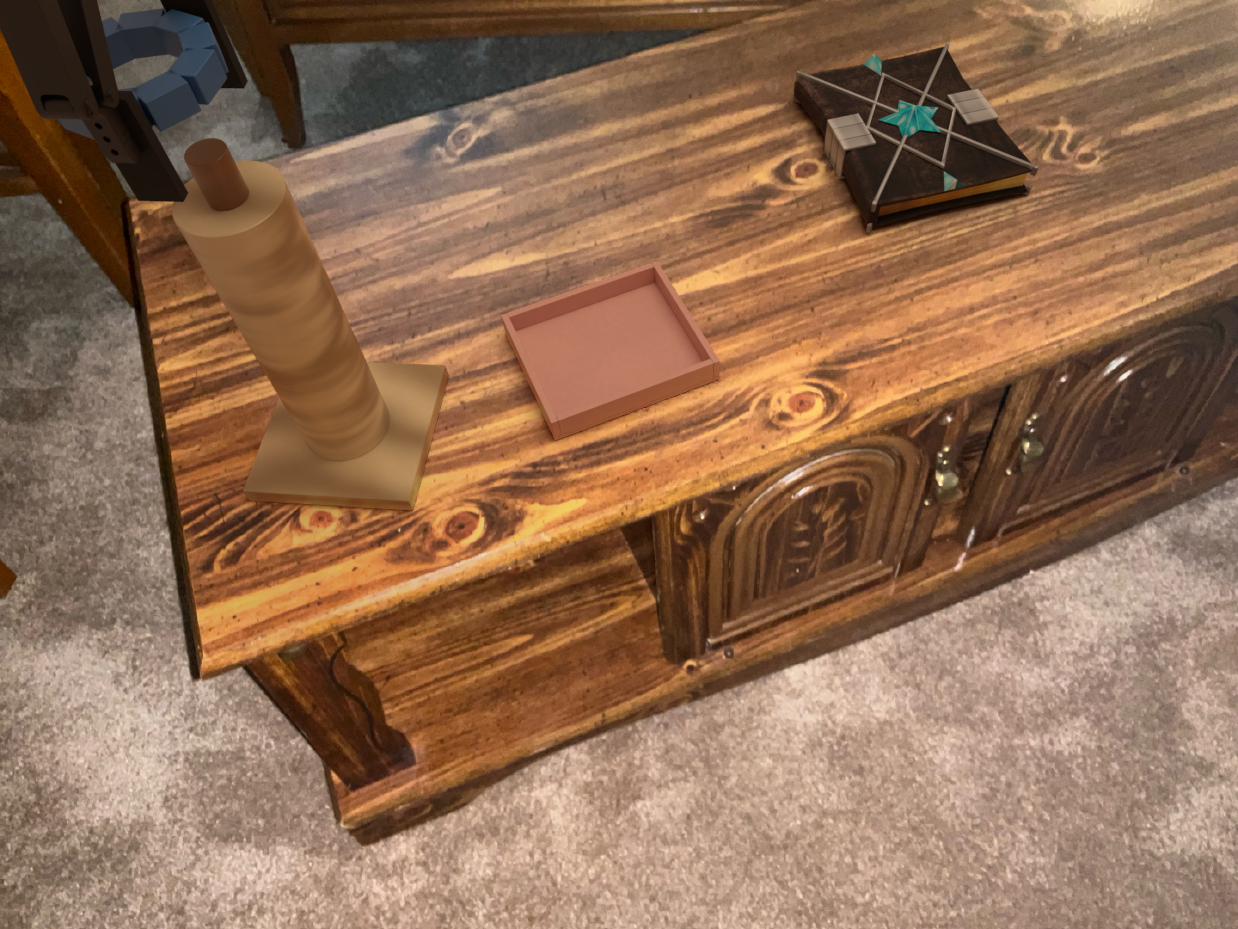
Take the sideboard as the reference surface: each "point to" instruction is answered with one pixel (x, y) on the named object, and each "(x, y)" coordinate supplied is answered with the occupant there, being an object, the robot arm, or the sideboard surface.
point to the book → (911, 136)
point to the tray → (609, 349)
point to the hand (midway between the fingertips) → (195, 137)
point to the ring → (186, 78)
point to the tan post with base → (305, 347)
